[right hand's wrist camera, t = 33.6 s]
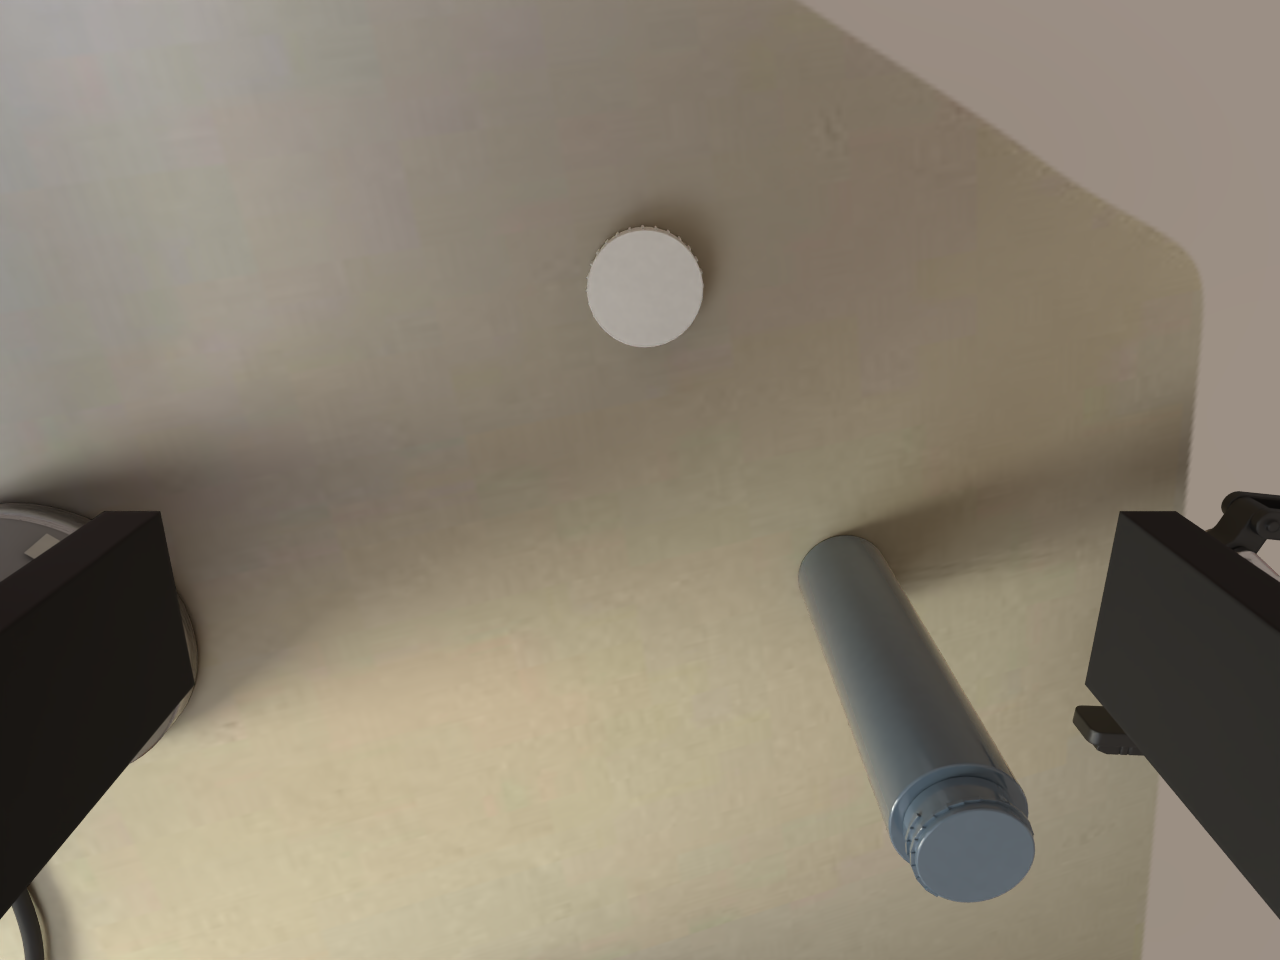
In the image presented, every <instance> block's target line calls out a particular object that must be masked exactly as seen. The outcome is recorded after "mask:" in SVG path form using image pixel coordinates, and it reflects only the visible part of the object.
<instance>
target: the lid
mask: <svg viewBox="0 0 1280 960" xmlns="http://www.w3.org/2000/svg"><path fill="white" fill-rule="evenodd" d="M690 250H691V248H690V246H689V245H688V246H686V244H685V243H684V242H683V241H681V237H680V236H678V237H676V236H675V235H673V234H672V233H670V231H669V230H668V229H667V231H665V230H662V229H659V228H657V226H654V227H644V225H641V227H635V228H631V227H628V230H625V231H622V232H620V233H619V232H616V235H615V236H614V237H612V238H611V239H610V240H608V239H607V240H606V241H605V244H604V245H603V247H602V248H601V249H598V250H597V252H596V254H597V255H596V257H595V259H594V261H593V260H592V261H591V264H590V266H591V269H590V272H589V273H588V275H587V278H586V279H588V282H587V288H586V292H587V295H588V305H589V306H590V308H591V311H592V314H593V317H595V319H596V321H597V322H598V324H599V325H600V327H601V328H602V329H603V330H604V331H605V332H606V333H608V334H609V335H610V336H611V337H613V338H614V339H616V340H618V341H620V342H622V343H624V344H627V345H631V346H635V347H655V346H659V345H663V344H666V343H668V342H670V341H672V340H674V339H676V338H677V337H679V336H680V335H681V334H683V333H684V332H685V331H686V330H687V329H688V327H689V326H690V325H691V324H692V323H693V321H694V319H695V318H696V316H697V314H698V313H699V309H700V306H701V302H702V301H703V287H704V283H703V280H702V275H701V274H703V272H702V270H701V268H699V266H698V264H697V262H698V259H697V257H696V256H694V255H693V254H692V252H691V251H690Z"/></svg>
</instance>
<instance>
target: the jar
mask: <svg viewBox="0 0 1280 960" xmlns="http://www.w3.org/2000/svg"><path fill="white" fill-rule="evenodd" d="M798 582H799V588H800V591H801V594H802V596H803V599H804V602H805V605H806V607H807V610H808V613H809V616H810V619H811V621H812V624H813V627H814V630H815V632H816V635H817V638H818V641H819V643H820V646H821V649H822V652H823V654H824V657H825V660H826V663H827V666H828V668H829V671H830V674H831V677H832V679H833V682H834V685H835V688H836V690H837V693H838V696H839V699H840V701H841V704H842V707H843V710H844V712H845V715H846V718H847V721H848V724H849V726H850V729H851V732H852V735H853V737H854V740H855V743H856V746H857V748H858V751H859V754H860V757H861V759H862V762H863V765H864V768H865V770H866V773H867V776H868V779H869V782H870V784H871V787H872V790H873V793H874V795H875V798H876V801H877V804H878V806H879V809H880V812H881V815H882V817H883V820H884V823H885V826H886V828H887V831H888V834H889V837H890V840H891V842H892V844H893V846H894V848H895V849H896V851H897V852H898V853H899V855H900V856H901V857H902V858H903V859H904V860H906V861H907V862H908V863H910V864H911V867H912V869H913V872H914V874H915V877H916V879H917V880H918V882H919V883H920V884H921V885H922V886H923V887H924V888H925V890H927V891H928V892H930V893H931V894H933V895H935V896H936V897H937V896H940V897H943V898H945V899H948V900H952V901H957V902H980V901H985V900H989V899H992V898H995V897H998V896H1000V895H1002V894H1004V893H1006V892H1008V891H1009V890H1011V889H1012V888H1014V887H1015V886H1016V885H1017V884H1018V883H1019V882H1020V881H1022V879H1023V878H1024V877H1025V876H1026V875H1027V873H1028V871H1029V870H1030V868H1031V866H1032V863H1033V860H1034V855H1035V843H1034V839H1033V835H1034V833H1033V831H1032V828H1031V825H1030V822H1029V820H1028V804H1027V799H1026V796H1025V794H1024V792H1023V790H1022V788H1021V787H1020V785H1019V783H1018V782H1017V780H1016V778H1015V777H1014V775H1013V773H1012V772H1011V770H1010V768H1009V766H1008V765H1007V763H1006V761H1005V760H1004V758H1003V756H1002V755H1001V753H1000V751H999V750H998V748H997V746H996V745H995V743H994V741H993V740H992V738H991V736H990V735H989V733H988V731H987V730H986V728H985V726H984V724H983V723H982V721H981V719H980V718H979V716H978V714H977V713H976V711H975V709H974V708H973V706H972V704H971V703H970V701H969V699H968V698H967V696H966V694H965V693H964V691H963V689H962V688H961V686H960V684H959V682H958V681H957V679H956V677H955V676H954V674H953V672H952V671H951V669H950V667H949V666H948V664H947V662H946V661H945V659H944V657H943V656H942V654H941V652H940V651H939V649H938V647H937V646H936V644H935V642H934V640H933V639H932V637H931V635H930V634H929V632H928V630H927V629H926V627H925V625H924V624H923V622H922V620H921V619H920V617H919V615H918V614H917V612H916V610H915V609H914V607H913V605H912V604H911V602H910V600H909V599H908V597H907V595H906V593H905V592H904V590H903V588H902V587H901V585H900V583H899V582H898V580H897V578H896V577H895V575H894V573H893V572H892V570H891V568H890V567H889V565H888V563H887V562H886V560H885V558H884V557H883V555H882V553H881V552H880V551H879V549H878V548H877V547H876V546H875V545H873V544H872V543H871V542H869V541H867V540H865V539H863V538H860V537H856V536H846V535H845V536H836V537H832V538H829V539H827V540H824V541H822V542H821V543H819V544H817V545H816V546H815V547H813V548H812V549H811V550H810V551H809V552H808V554H807V555H806V556H805V558H804V560H803V561H802V564H801V566H800V569H799V575H798Z"/></svg>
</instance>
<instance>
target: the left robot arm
mask: <svg viewBox="0 0 1280 960" xmlns="http://www.w3.org/2000/svg"><path fill="white" fill-rule="evenodd" d="M1221 508H1222V512H1223V513H1224V515H1223V516H1222V518H1221V519H1220V521H1219V522H1218V524H1217V525H1216V526H1215V527H1214V528H1212V529H1209V530H1206V531H1205V532H1207V533H1208V534H1210V535H1211V536H1213V537H1214V538H1216V539H1217V540H1219V541H1220V542H1222V543H1223V544H1225V545H1226V546H1228V547H1229V548H1231V549H1232V550H1233V551H1235V552H1236V553H1238V554H1239V555H1241V556H1242V557H1244V558H1245V559H1247V560H1248V561H1250V562H1251V563H1253V564H1254V565H1256V566H1257V567H1258V568H1260V569H1261V570H1263V571H1264V572H1266V573H1267V574H1269V575H1270V576H1272V577H1273V578H1275V579H1276V580H1278V581H1279V582H1280V576H1279V575H1278V574H1277V573H1276V572H1275V571H1274V570H1272V569H1271V568H1270V567H1269V566H1268V565H1267V564H1266V563H1265V562H1264V561H1263V560H1262V559H1261V558H1260V557H1259V556H1258V555H1257V552H1258V551H1259V549H1260V548H1261V547H1262V545H1263V544H1264V542H1265V541H1266V540H1267V539H1272V540H1280V496H1279V495H1269V494H1260V493H1250V492H1240V491H1237V492H1233V493H1231V494H1229V495H1228V496H1226V497H1225V499H1224V500H1223V502H1222V505H1221ZM1073 723H1074V725H1075V726H1076V727H1077V728H1078V730H1079V731H1080V732H1081V734H1082V735H1083V736H1084V738H1085V739H1086V740H1087V741H1088V742H1090V743H1091V744H1093V745H1094V747H1095V748H1096V749H1097V750H1098V751H1101V752H1103V753H1105V754H1120V755H1127V754H1129V755H1143V754H1142V753H1141V751H1140V750H1139V749H1138V748H1137V746H1136V745H1135V744H1134V743H1133V742H1132V740H1131V739H1130V738H1129V737H1128V736H1127V734H1126V733H1125V732H1124V731H1123V730H1122V728H1121V727H1120V726H1119V725H1118V724H1117V722H1116V721H1115V720H1114V719H1113V718H1112V716H1111V715H1110V714H1109V713H1108V712H1107V710H1106V709H1105V708H1104V707H1103V706H1077V707H1076V709H1075V713H1074V717H1073Z"/></svg>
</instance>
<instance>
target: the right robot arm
mask: <svg viewBox="0 0 1280 960" xmlns="http://www.w3.org/2000/svg"><path fill="white" fill-rule="evenodd" d="M197 659H198V655H197V644H196V639H195V634H194V630H193V627H192V623H191V620H190V617H189V615H188V613H187V611H186V608H185V606H184V604H183V602H182V600H181V599H180V597H179V595H178V593H177V592H176V587H175V582H174V577H173V572H172V568H171V563H170V558H169V553H168V548H167V543H166V538H165V533H164V528H163V523H162V518H161V513H160V511H104V512H102V513H101V514H100V515H98V516H97V517H95V518H94V519H92V520H90V519H88V518H86V517H83V516H81V515H78V514H75V513H72V512H69V511H66V510H62V509H58V508H54V507H49V506H43V505H37V504H26V503H2V504H0V919H1V918H2V917H3V915H4V914H5V913H6V912H7V911H8V909H9V908H10V907H11V906H12V908H13V911H14V913H15V916H16V919H17V922H18V925H19V929H20V932H21V936H22V941H23V946H24V953H25V960H44V949H43V941H42V935H41V930H40V926H39V922H38V918H37V915H36V912H35V909H34V906H33V903H32V900H31V898H30V895H29V893H28V890H27V886H28V885H29V884H30V883H31V882H32V880H33V879H34V878H35V877H36V876H37V874H38V873H39V872H40V871H41V870H42V868H43V867H44V866H45V865H46V864H47V862H48V861H49V860H50V859H51V858H52V856H53V855H54V854H55V853H56V851H57V850H58V849H59V848H60V847H61V845H62V844H63V843H64V842H65V841H66V839H67V838H68V837H69V836H70V835H71V833H72V832H73V831H74V830H75V829H76V827H77V826H78V825H79V824H80V823H81V821H82V820H83V819H84V818H85V816H86V815H87V814H88V813H89V812H90V810H91V809H92V808H93V807H94V806H95V804H96V803H97V802H98V801H99V800H100V798H101V797H102V796H103V795H104V794H105V792H106V791H107V790H108V789H109V788H110V786H111V785H112V784H113V783H114V781H115V780H116V779H117V778H118V777H119V775H120V774H121V773H122V772H123V771H124V769H125V768H126V767H127V766H128V765H129V764H130V763H132V762H134V761H135V760H137V759H138V758H140V757H141V756H143V755H144V754H145V753H147V752H148V751H149V750H150V749H151V748H153V746H154V745H155V744H156V743H157V742H158V741H159V740H160V739H161V738H162V737H163V735H164V734H165V733H166V732H167V730H168V729H169V728H170V727H171V725H172V724H173V723H174V722H175V721H176V719H177V718H178V717H179V715H180V714H181V713H182V711H183V710H184V708H185V706H186V704H187V702H188V701H189V698H190V696H191V693H192V691H193V687H194V685H195V680H196V673H197ZM1085 685H1086V686H1087V687H1088V689H1089V690H1090V691H1091V692H1092V693H1093V695H1094V696H1095V697H1096V698H1097V699H1098V701H1099V702H1100V703H1101V704H1102V705H1103V707H1104V708H1105V709H1106V710H1107V712H1108V713H1109V714H1110V715H1111V716H1112V718H1113V719H1114V720H1115V721H1116V722H1117V724H1118V725H1119V726H1120V727H1121V728H1122V730H1123V731H1124V732H1125V733H1126V734H1127V736H1128V737H1129V738H1130V739H1131V740H1132V742H1133V743H1134V744H1135V745H1136V746H1137V748H1138V749H1139V750H1140V751H1141V753H1142V754H1143V755H1144V756H1145V757H1146V759H1147V760H1148V761H1149V762H1150V763H1151V765H1152V766H1153V767H1154V768H1155V769H1156V771H1157V772H1158V773H1159V774H1160V775H1161V777H1162V778H1163V779H1164V780H1165V781H1166V783H1167V784H1168V785H1169V786H1170V788H1171V789H1172V790H1173V791H1174V792H1175V794H1176V795H1177V796H1178V797H1179V798H1180V800H1181V801H1182V802H1183V803H1184V804H1185V806H1186V807H1187V808H1188V809H1189V810H1190V812H1191V813H1192V814H1193V815H1194V816H1195V818H1196V819H1197V820H1198V821H1199V822H1200V824H1201V825H1202V826H1203V827H1204V829H1205V830H1206V831H1207V832H1208V833H1209V835H1210V836H1211V837H1212V838H1213V839H1214V841H1215V842H1216V843H1217V844H1218V845H1219V847H1220V848H1221V849H1222V850H1223V851H1224V853H1225V854H1226V855H1227V856H1228V858H1229V859H1230V860H1231V861H1232V862H1233V863H1234V865H1235V866H1236V867H1237V868H1238V870H1239V871H1240V872H1241V873H1242V874H1243V876H1244V877H1245V878H1246V879H1247V880H1248V882H1249V883H1250V884H1251V885H1252V886H1253V888H1254V889H1255V890H1256V891H1257V892H1258V894H1259V895H1260V896H1261V897H1262V898H1263V900H1264V901H1265V902H1266V903H1267V905H1268V906H1269V907H1270V908H1271V909H1272V911H1273V912H1274V913H1275V914H1276V915H1277V917H1278V918H1279V919H1280V582H1279V581H1278V580H1276V579H1275V578H1273V577H1272V576H1270V575H1269V574H1267V573H1266V572H1264V571H1263V570H1261V569H1260V568H1258V567H1257V566H1256V565H1254V564H1253V563H1251V562H1250V561H1248V560H1247V559H1245V558H1244V557H1242V556H1241V555H1239V554H1238V553H1236V552H1235V551H1233V550H1232V549H1231V548H1229V547H1228V546H1226V545H1225V544H1223V543H1222V542H1220V541H1219V540H1217V539H1216V538H1214V537H1213V536H1211V535H1210V534H1208V533H1207V532H1205V531H1204V530H1203V529H1201V528H1200V527H1198V526H1197V525H1195V524H1194V523H1192V522H1191V521H1189V520H1188V519H1186V518H1185V517H1183V516H1182V515H1180V514H1179V513H1178V512H1176V511H1120V513H1119V518H1118V523H1117V528H1116V533H1115V538H1114V543H1113V548H1112V553H1111V558H1110V563H1109V568H1108V572H1107V577H1106V582H1105V587H1104V592H1103V597H1102V602H1101V607H1100V612H1099V617H1098V622H1097V627H1096V632H1095V637H1094V642H1093V647H1092V652H1091V657H1090V662H1089V667H1088V672H1087V677H1086V682H1085Z"/></svg>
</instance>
